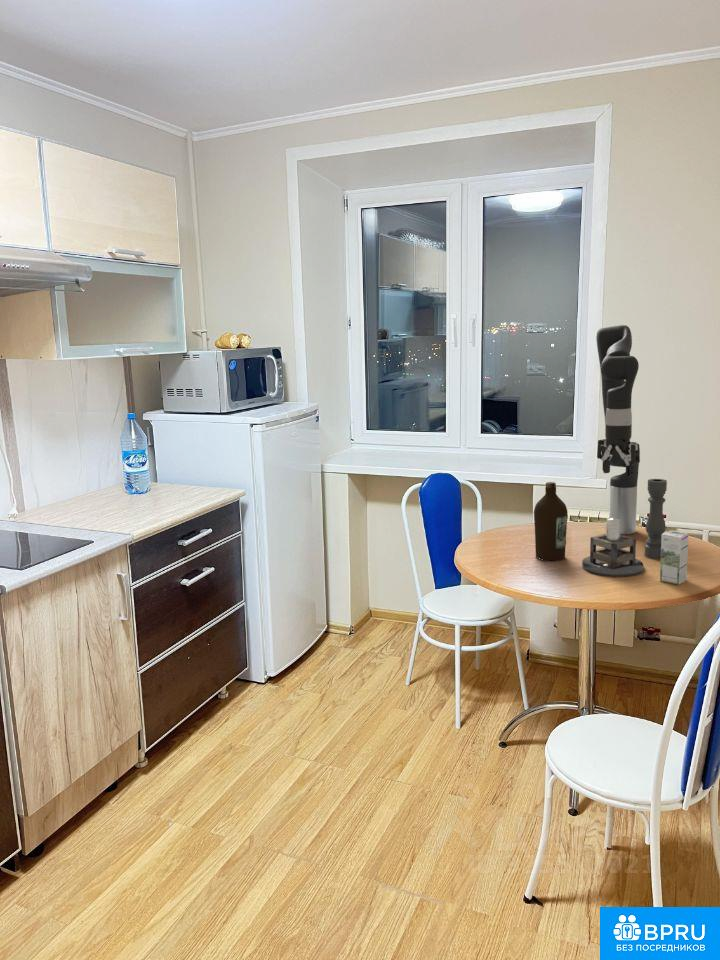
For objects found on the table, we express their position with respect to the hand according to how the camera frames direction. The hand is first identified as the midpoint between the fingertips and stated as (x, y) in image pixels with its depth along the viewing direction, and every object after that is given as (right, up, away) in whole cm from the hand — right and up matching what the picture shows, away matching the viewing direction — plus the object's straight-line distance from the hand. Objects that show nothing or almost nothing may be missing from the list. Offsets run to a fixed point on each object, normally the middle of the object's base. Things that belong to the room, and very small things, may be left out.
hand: (617, 475), depth 220 cm
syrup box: (+12, -31, -11) cm, 35 cm away
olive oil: (-17, -27, +16) cm, 36 cm away
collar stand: (-1, -29, +3) cm, 29 cm away
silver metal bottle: (-1, -27, +3) cm, 27 cm away
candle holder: (+16, -26, +12) cm, 33 cm away
